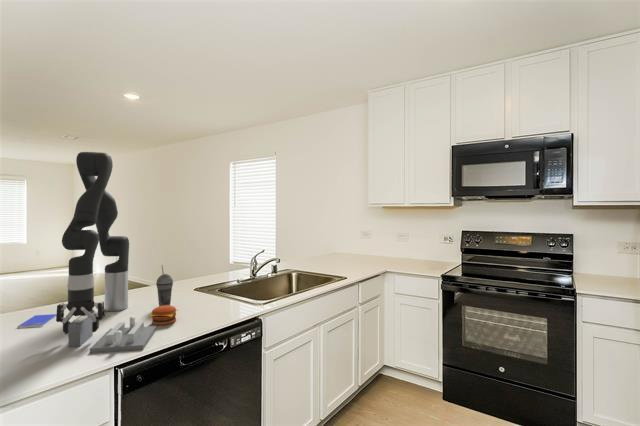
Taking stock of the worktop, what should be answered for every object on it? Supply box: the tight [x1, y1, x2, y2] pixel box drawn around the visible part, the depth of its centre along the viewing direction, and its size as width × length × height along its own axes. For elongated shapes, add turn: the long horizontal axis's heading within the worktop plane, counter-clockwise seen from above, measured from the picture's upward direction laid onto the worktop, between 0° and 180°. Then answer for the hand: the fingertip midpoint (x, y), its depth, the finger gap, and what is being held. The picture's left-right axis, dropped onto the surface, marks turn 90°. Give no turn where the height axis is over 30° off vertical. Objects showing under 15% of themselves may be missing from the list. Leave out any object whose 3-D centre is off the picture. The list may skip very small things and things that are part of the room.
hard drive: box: [17, 313, 57, 329], centre depth 139 cm, size 2×8×12 cm
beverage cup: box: [155, 264, 174, 307], centre depth 160 cm, size 7×7×20 cm
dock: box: [89, 315, 157, 354], centre depth 123 cm, size 18×16×6 cm
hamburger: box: [148, 305, 179, 327], centre depth 142 cm, size 9×10×7 cm
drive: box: [67, 315, 94, 349], centre depth 121 cm, size 10×4×8 cm, turn 13°
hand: (81, 332), depth 121 cm, fingers open, 8 cm apart
